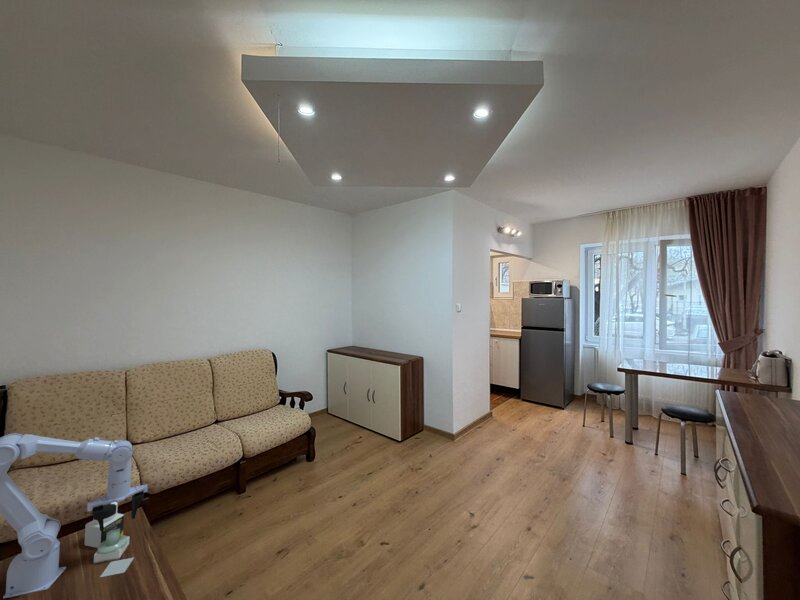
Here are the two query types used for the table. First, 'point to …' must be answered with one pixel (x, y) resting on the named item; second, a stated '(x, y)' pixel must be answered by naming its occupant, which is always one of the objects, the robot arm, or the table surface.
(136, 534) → the table surface
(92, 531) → the medicine bottle
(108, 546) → the lid
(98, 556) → the dish
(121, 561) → the mat
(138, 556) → the table surface
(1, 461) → the robot arm
